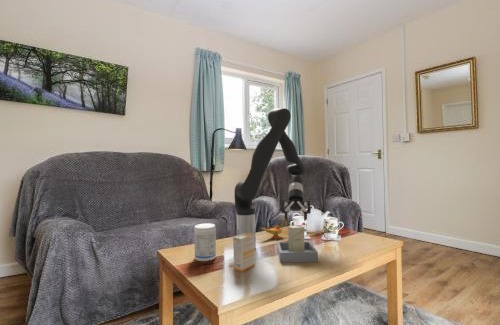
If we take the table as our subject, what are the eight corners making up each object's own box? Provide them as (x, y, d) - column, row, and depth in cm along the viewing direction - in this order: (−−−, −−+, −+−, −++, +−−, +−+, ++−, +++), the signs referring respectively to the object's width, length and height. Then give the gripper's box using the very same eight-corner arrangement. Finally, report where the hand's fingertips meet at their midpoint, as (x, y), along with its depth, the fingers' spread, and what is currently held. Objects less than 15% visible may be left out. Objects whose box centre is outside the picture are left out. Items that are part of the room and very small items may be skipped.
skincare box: (292, 255, 120) (291, 228, 120) (288, 252, 124) (287, 225, 124) (305, 254, 121) (304, 227, 121) (300, 250, 126) (300, 224, 126)
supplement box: (246, 262, 115) (245, 232, 115) (255, 265, 112) (254, 233, 112) (233, 269, 108) (232, 236, 108) (242, 271, 105) (241, 238, 105)
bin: (280, 262, 115) (279, 252, 115) (277, 250, 131) (277, 241, 131) (318, 261, 114) (317, 252, 114) (310, 249, 130) (310, 241, 130)
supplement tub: (197, 254, 126) (196, 223, 126) (217, 254, 126) (216, 222, 126) (192, 262, 117) (191, 228, 117) (214, 261, 116) (213, 227, 116)
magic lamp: (256, 238, 152) (256, 218, 152) (283, 234, 160) (283, 215, 160) (262, 241, 145) (262, 221, 145) (290, 236, 154) (289, 217, 154)
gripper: (281, 188, 139) (280, 215, 127) (309, 188, 136) (311, 215, 125) (282, 197, 144) (281, 223, 133) (309, 197, 141) (310, 224, 130)
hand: (295, 219), depth 129 cm, fingers open, 8 cm apart
